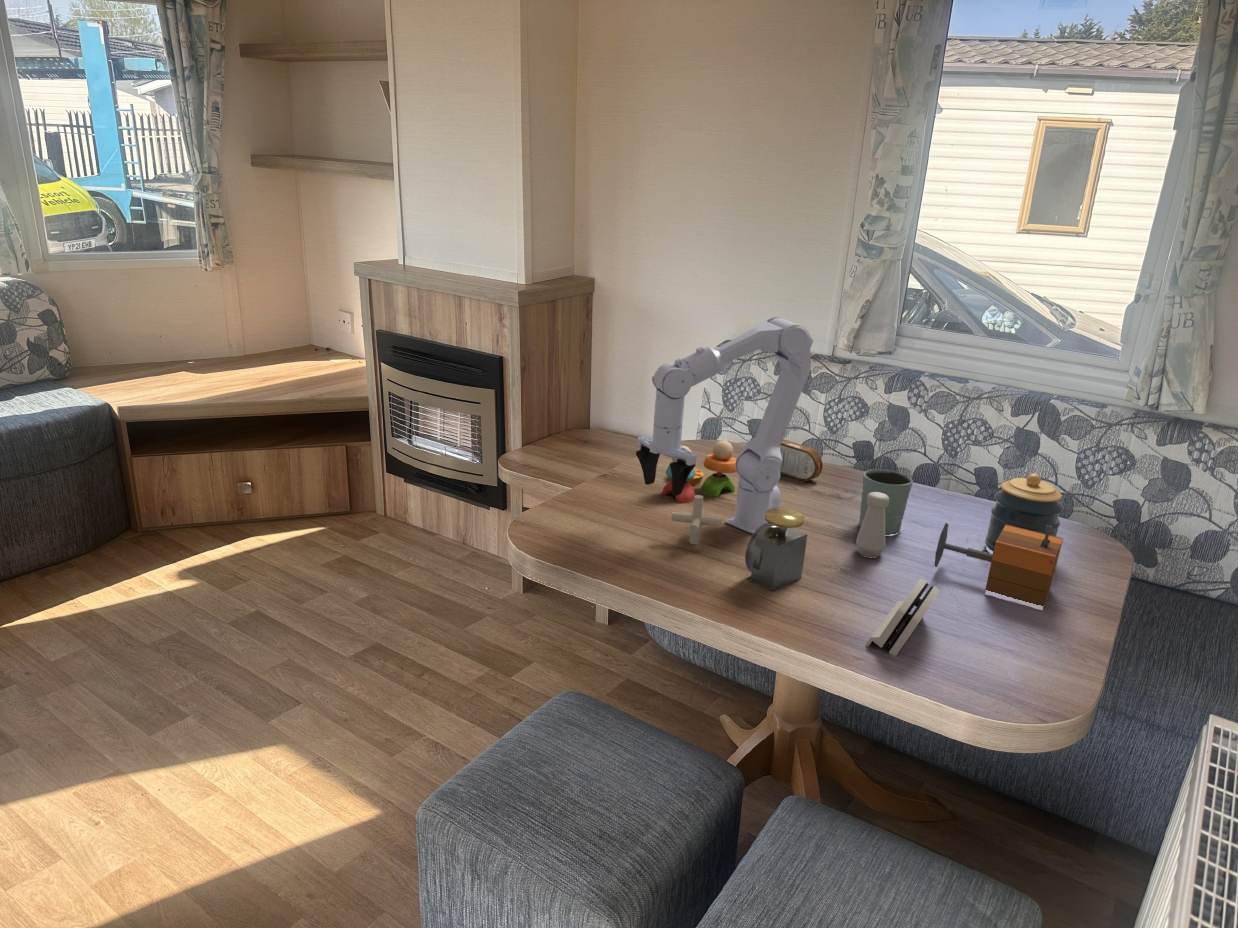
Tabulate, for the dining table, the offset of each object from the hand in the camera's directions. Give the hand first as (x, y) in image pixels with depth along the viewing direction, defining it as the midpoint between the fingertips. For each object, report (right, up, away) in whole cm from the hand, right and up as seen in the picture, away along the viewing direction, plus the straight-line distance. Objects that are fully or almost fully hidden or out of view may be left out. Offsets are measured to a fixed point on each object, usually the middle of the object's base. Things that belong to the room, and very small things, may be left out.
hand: (663, 488), depth 179 cm
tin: (+34, +2, +41) cm, 54 cm away
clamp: (+62, -18, -11) cm, 65 cm away
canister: (+73, -14, +3) cm, 75 cm away
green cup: (+48, -9, +12) cm, 50 cm away
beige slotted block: (+39, -24, -31) cm, 55 cm away
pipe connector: (+6, -11, -1) cm, 13 cm away
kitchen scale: (+20, -16, -15) cm, 30 cm away
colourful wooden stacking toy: (+8, -1, +28) cm, 29 cm away
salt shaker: (+42, -13, -1) cm, 44 cm away
